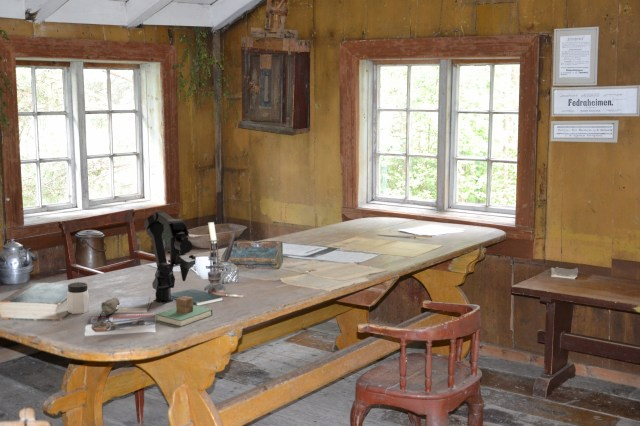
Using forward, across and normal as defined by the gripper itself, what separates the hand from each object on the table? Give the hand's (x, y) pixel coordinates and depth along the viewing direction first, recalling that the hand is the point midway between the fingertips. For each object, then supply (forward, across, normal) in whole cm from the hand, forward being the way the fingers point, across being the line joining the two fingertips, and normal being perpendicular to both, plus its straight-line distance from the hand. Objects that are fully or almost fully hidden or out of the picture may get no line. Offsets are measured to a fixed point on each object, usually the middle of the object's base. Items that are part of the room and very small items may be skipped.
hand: (176, 283), depth 363 cm
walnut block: (+9, -7, -11) cm, 16 cm away
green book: (+12, -7, -11) cm, 18 cm away
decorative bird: (+12, -22, +18) cm, 31 cm away
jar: (+12, -28, +32) cm, 44 cm away
